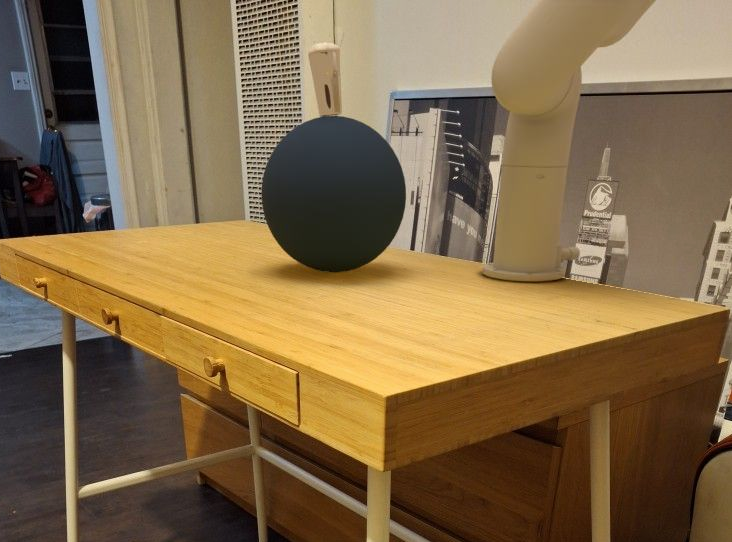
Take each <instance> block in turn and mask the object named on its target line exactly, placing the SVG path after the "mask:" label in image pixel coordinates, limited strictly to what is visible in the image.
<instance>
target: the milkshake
mask: <svg viewBox="0 0 732 542" xmlns="http://www.w3.org/2000/svg"><path fill="white" fill-rule="evenodd" d="M344 36H345V33H343V34H342V38H341V42H340V45H339V46H338V45H337V44H335V43H333V42H326V41H324V42H318V43H315V44H313V45H311V47H309V49H308V52H307V54H308V55H307V56H308V60H309V61H308V62H309V65H310V70H311V71H310V72H311V75H312V81H313V87H314V93H315V97H316V104H317V110H318V115H319V117H324V116H340V115H342V114H343V105H342V103H343V102H342V80H341V79H342V76H341V75H342V74H341V46H342V43H343V39H344Z"/></svg>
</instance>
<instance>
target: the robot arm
mask: <svg viewBox="0 0 732 542" xmlns="http://www.w3.org/2000/svg"><path fill="white" fill-rule="evenodd" d="M656 1H657V0H537V2H536V3H535V4H534V5H533V6H532V8H531V9H530V10H529V11H528V12H527V14H526V15H525V16H524V18H523V19H522V20H521V21H520V23H519V24H518V25H517V26H516V28H515V29H514V30H513V31H512V33H511V34H510V35H509V36H508V37H507V39H506V40H505V42H504V43H503V45H502V46H501V47H500V49H499V51H498V52H497V54H496V56H495V59H494V62H493V64H492V69H491V77H490V79H491V88H492V91H493V95H494V96H495V98H496V101H497V102H498V103H499V104H500V105H501V106H502V107H503V108H504V109H505V110H507V111H508V112H509V115H508V118H507V125H506V130H505V136H504V141H503V150H502V161H501V168H500V180H499V189H498V191H499V192H498V202H497V213H496V214H497V215H496V225H495V237H494V249H493V260H492V262H489V263H485V264H484V265H482V271H481V273H482V274H483V275H485V276H486V277H489V278H493V279H498V280H504V281H505V280H506V281H515V282H550V281H556V280H560V279H563V278H564V277H565V274H566V268H564V267H563V266H561V264H562V263H564V262H565V261H576V260H578V259H579V258H580V256H581V250H580V249H579V247H577V246H571V247H565V248H564V245H563V244H561V243H559V238H560V231H561V223H562V214H563V207H564V199H565V191H566V183H567V174H568V168H569V160H570V153H571V146H572V139H573V132H574V126H575V121H576V118H577V117H576V116H577V111H578V107H579V102H580V97H581V91H582V78H583V75H582V74H583V73H582V66H583V65H584V64H585V62H587V60H589V58H590V57H591V56H592V55H593V54H594V53H595V51H596V50H597V49H598V48H607V47H610V46H613V45H615V44H617V43H618V42H620V41H621V40H623V38H624V37H626V36H627V35H628V34H629V33H630V31H631V30H632V29H633V28H634V27H635V25H637V23H638V21H639V20H640V19H641V18H642V17H643V16H644V14H645V13H646V12H647V11H648V10H649V9H650V8H651V6H653V4H655V2H656Z"/></svg>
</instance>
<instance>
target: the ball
mask: <svg viewBox="0 0 732 542" xmlns="http://www.w3.org/2000/svg"><path fill="white" fill-rule="evenodd" d="M263 171H264V172H263V175H262V180H261V181H262V182H261V195H260V196H261V205H262V211H263V216H264V219H265V222H266V224H267V228H268V229H269V231H270V233H271V236H272V237H273V238H274V240H275V241H276V243H277V244H278V246H279V247H280V249H282V251H284V253H286V254H287V255H288V256H289V257H290V258H291V259H293V260H294V261H296V262H297V263H299V264H300V265H302V266H304V267H306V268H309V269H312V270H315V271H319V272H321V273H332V274H333V273H334V274H335V273H347V272H350V271H354V270H358V269H360V268H362V267H364V266H366V265H368V264H370V263H371V262H372V261H374V260H376V259H377V258H378V257H379V256H380V255H382V254H383V253H384V252H385V250H387V249H388V248H389V246H391V243H392V242H393V240H394V239H395V237H396V235H397V233H398V232H399V230H400V227H401V225H402V222H403V219H404V215H405V211H406V210H405V209H406V203H407V202H406V201H407V185H406V178H405V175H404V171H403V167H402V165H401V163H400V160H399V158H398V156H397V154H396V152H395V151H394V149H393V148H392V146H391V145H390V144H389V142H388V141H387V140H386V139H385V138H384V137H383V136H382V135H381V134H380V133H379V132H378V131H376V130H375V129H374V128H372V127H371V126H370V125H368V124H366V123H365V122H362V121H360V120H357V119H355V118H352V117H348V116H342V115H331V116H323V117H320V116H319V117H315V118H311V119H309V120H306V121H304V122H302V123H301V124H298V125H297V126H295V127H294V128H293V129H291V130H289V131H288V133H286V135H284V137H282V138H281V139H280V141H279V142H278V143H277V145H276V146H275V147H274V149H273V151H272V152H271V154H270V156H269V159H267V162H266V164H265V168H264V170H263Z"/></svg>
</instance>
